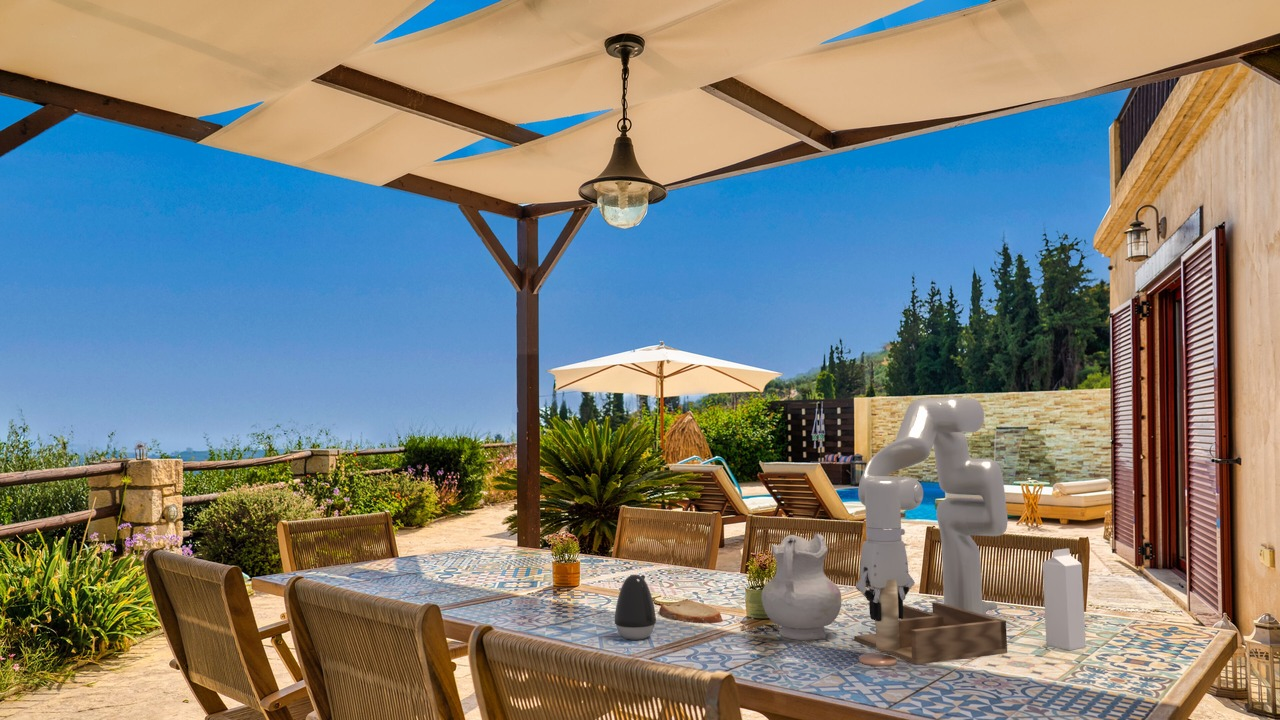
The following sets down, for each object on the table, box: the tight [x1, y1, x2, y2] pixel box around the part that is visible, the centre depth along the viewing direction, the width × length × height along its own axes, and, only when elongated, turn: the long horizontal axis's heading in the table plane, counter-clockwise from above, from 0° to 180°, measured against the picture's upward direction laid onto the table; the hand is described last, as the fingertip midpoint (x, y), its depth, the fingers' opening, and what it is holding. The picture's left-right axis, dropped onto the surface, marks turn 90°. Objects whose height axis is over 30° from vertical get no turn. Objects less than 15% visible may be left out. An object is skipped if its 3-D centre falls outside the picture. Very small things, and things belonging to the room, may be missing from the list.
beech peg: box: [874, 580, 900, 651], centre depth 195 cm, size 5×5×15 cm
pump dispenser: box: [614, 574, 657, 641], centre depth 219 cm, size 10×10×15 cm
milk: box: [1042, 547, 1087, 651], centre depth 205 cm, size 6×6×22 cm
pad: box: [858, 653, 898, 667], centre depth 193 cm, size 8×8×1 cm
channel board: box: [853, 601, 1008, 665], centre depth 206 cm, size 24×24×7 cm
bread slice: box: [658, 598, 724, 624], centre depth 242 cm, size 18×18×4 cm
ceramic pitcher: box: [760, 532, 842, 641], centre depth 218 cm, size 22×20×25 cm
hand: (886, 618), depth 195 cm, fingers closed on beech peg, 5 cm apart
